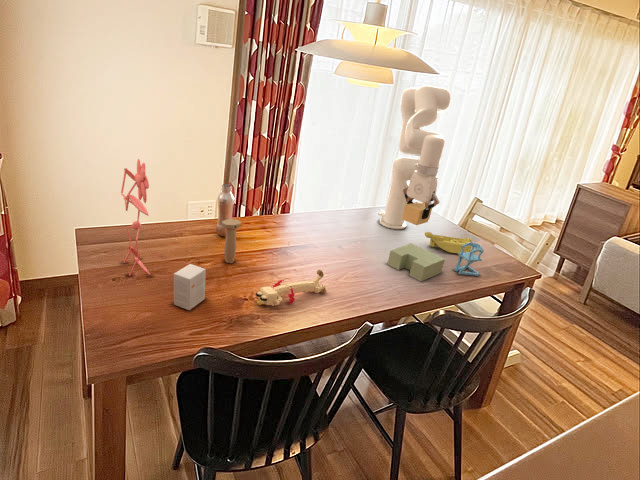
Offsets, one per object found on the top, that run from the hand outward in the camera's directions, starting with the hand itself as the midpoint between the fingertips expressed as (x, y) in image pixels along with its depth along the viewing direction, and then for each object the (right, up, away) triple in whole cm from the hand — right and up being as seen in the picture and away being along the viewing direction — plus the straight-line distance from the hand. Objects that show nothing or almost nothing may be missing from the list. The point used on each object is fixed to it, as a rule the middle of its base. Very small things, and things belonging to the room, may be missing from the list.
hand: (416, 214), depth 186 cm
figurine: (-94, -22, -29) cm, 101 cm away
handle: (-69, -19, -17) cm, 74 cm away
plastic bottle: (-75, -8, +2) cm, 76 cm away
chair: (+20, -22, +4) cm, 30 cm away
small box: (-76, -33, -44) cm, 94 cm away
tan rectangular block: (+1, -2, +2) cm, 3 cm away
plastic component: (+17, -11, +24) cm, 31 cm away
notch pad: (-1, -21, 0) cm, 21 cm away
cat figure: (-47, -32, -33) cm, 66 cm away
